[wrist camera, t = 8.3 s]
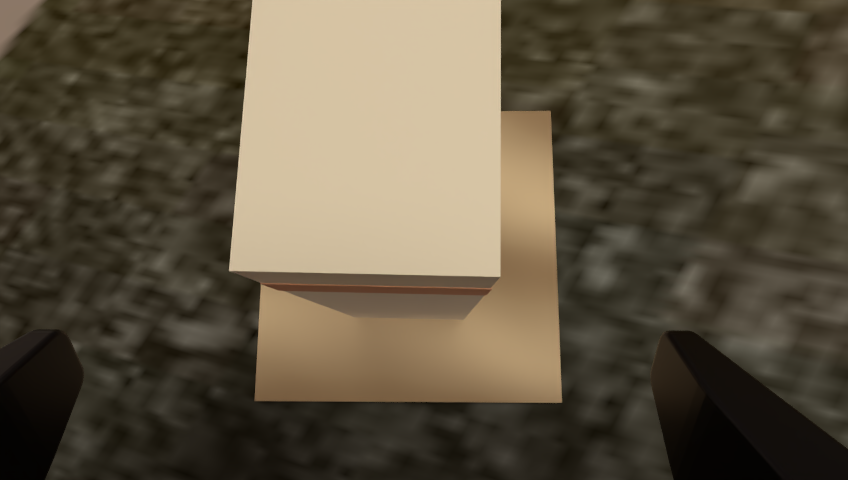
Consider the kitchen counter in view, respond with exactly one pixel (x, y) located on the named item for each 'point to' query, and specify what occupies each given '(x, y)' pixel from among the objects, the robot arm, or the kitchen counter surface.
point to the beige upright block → (372, 155)
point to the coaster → (436, 338)
